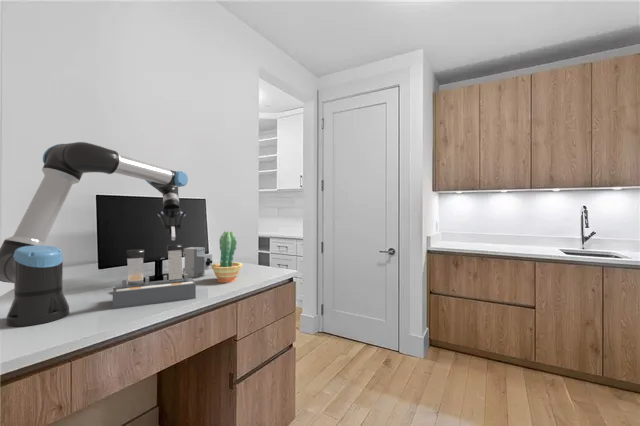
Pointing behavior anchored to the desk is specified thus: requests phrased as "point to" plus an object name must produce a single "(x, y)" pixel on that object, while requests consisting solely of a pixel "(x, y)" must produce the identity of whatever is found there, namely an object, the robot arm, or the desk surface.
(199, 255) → the circuit breaker
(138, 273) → the left lever
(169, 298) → the switch base
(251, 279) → the desk surface
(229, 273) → the potted cactus
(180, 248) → the right lever
